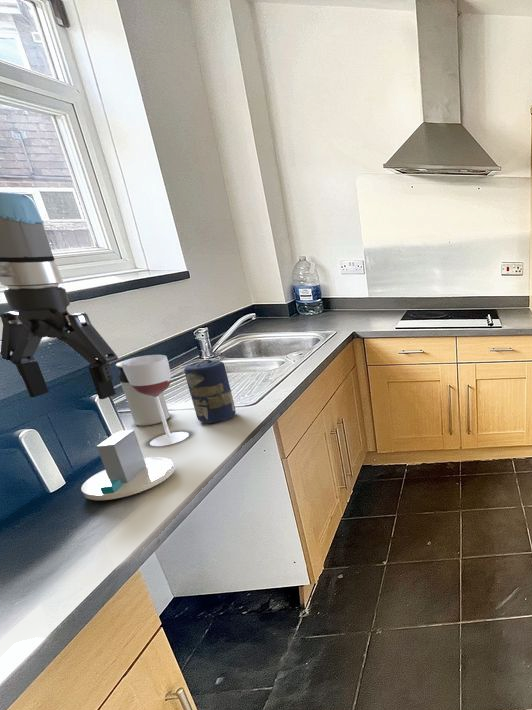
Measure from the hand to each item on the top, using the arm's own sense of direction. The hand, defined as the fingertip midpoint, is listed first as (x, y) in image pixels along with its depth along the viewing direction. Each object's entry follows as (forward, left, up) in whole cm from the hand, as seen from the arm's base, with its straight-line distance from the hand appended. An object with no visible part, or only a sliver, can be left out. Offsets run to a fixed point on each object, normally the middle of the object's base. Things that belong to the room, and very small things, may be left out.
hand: (73, 395), depth 82 cm
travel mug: (-19, +34, -22) cm, 44 cm away
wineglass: (-5, +23, -22) cm, 32 cm away
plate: (+4, +2, -20) cm, 21 cm away
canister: (-1, +36, -22) cm, 42 cm away
